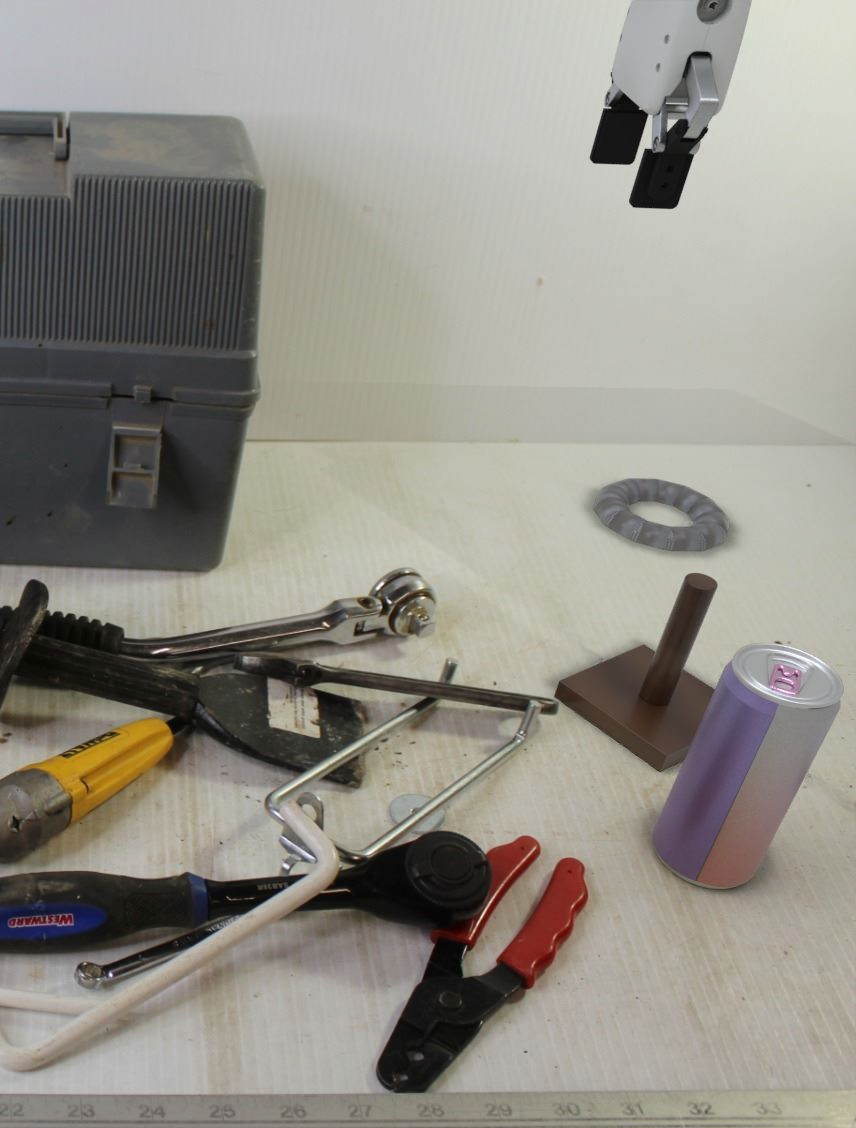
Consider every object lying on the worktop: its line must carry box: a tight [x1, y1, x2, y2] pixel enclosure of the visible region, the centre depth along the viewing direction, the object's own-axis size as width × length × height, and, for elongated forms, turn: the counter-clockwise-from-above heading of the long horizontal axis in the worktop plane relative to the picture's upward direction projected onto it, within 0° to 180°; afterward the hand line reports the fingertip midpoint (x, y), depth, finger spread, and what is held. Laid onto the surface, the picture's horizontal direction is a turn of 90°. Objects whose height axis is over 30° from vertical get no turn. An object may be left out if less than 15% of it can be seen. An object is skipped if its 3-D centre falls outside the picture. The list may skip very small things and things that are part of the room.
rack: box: [553, 572, 719, 772], centre depth 91 cm, size 9×9×12 cm
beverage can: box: [651, 642, 845, 890], centre depth 79 cm, size 6×6×15 cm
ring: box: [592, 477, 730, 552], centre depth 114 cm, size 10×10×3 cm
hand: (630, 184), depth 98 cm, fingers open, 9 cm apart
